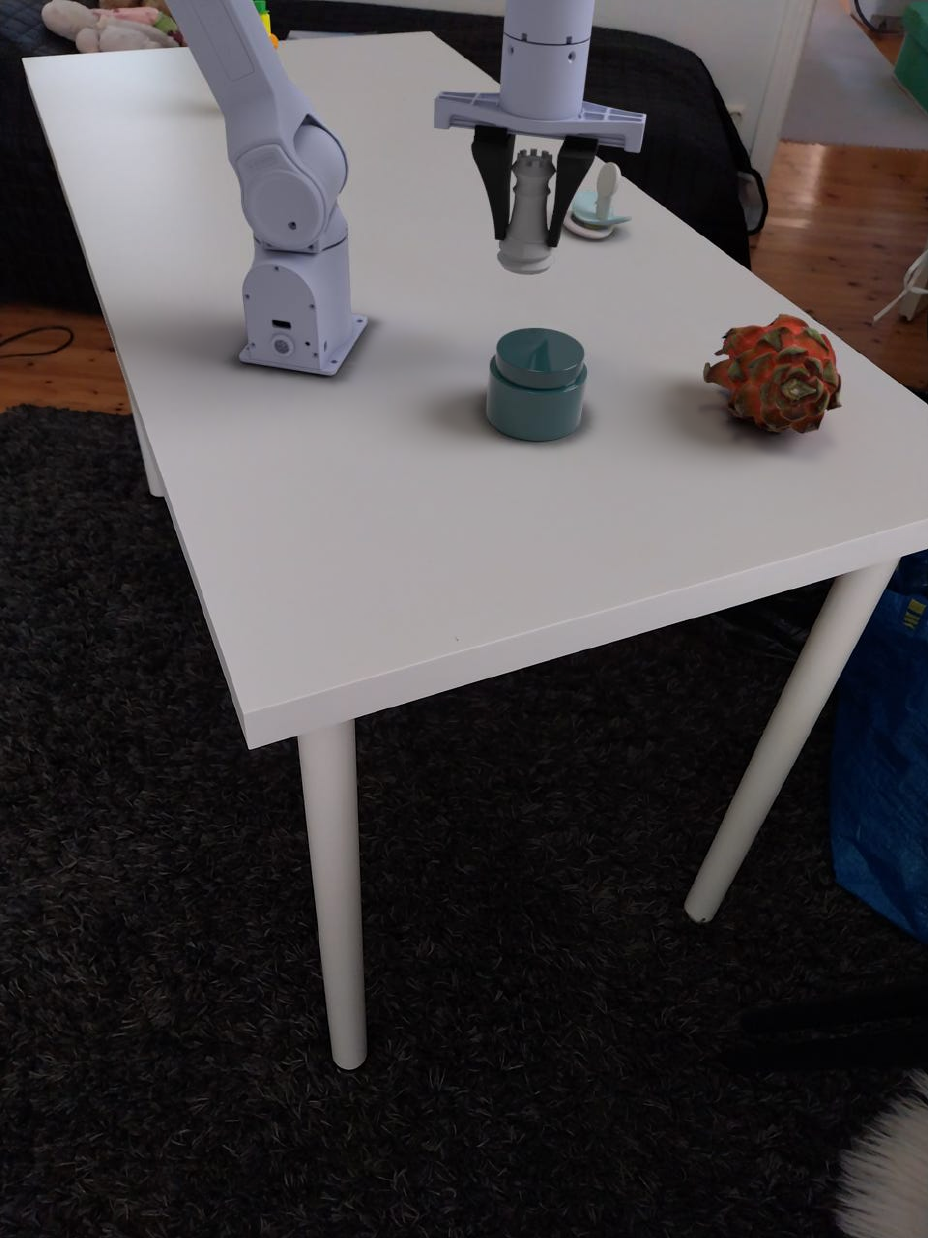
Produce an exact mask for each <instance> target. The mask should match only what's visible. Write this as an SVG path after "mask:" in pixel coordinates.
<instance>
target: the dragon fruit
mask: <svg viewBox="0 0 928 1238" xmlns="http://www.w3.org/2000/svg"><path fill="white" fill-rule="evenodd" d="M721 339H724V340H723V343H722V344H723V345H722V348H721V349H719V350H717V351H716V352H714V353H713V354H714V356H716V357H720V356H722V355H725V356H728V358H726V359H723V360H721V361H718V362H716V363H714V364H713V365H712V366H711V363H710V362H705V363H704V367H703V370H702V378H703V381H704V382H705V383H706V384H715V385H718V386H720V387H722V388H724V389H726V390H729V391H732V395H731V397H730V399H729V400H728V402H727V404H726V408H727V410H728V411H729V413H731V414H732V415H733V416H734V417H735V418H740V419H741V418H742V419H747V418H751V417H753V420H754V423H755V425H756V426H758V427H759V428H760V429H764V430H766V431H767V432H773V433H779V434H783V433H784V432H785V431H787V430H789V429H792V430H793V431H795V432H796V433H799V434H801V435H803V434H806V433H812V432H814V431H819V429H820V426H821V423H822V421H823V419H824V417H825V411H827V412H829V411H833V410H836V409H840V408H842V407H843V405H842V404H841V400H840V396H841V395H840V394H841V391H842V390H841V389H842V377H841V375H840V373H839V372H838V368H837V355H836V351H835V350H834V348H833V346H832V343H831V341H830V339H829V338H828V336H827V335H826V334H825V333H820V332H819V331H818V330H817V329H815V328H812V327H810V325H809V324H808V322H806V321H805V320H803V319H802V318H799V317H797V316H794V315H789V314H788V313H779V314H778V316H777V317H775V319H774V320H773V321H772V322H770V323H769V324H767V325H766V326H760V325H754V324H751V325H747V326H741V327H740V326H738V327H731V328H730V329H729V330H728V331H727V332H724V335H722V337H721ZM733 391H734V392H733Z"/></svg>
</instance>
